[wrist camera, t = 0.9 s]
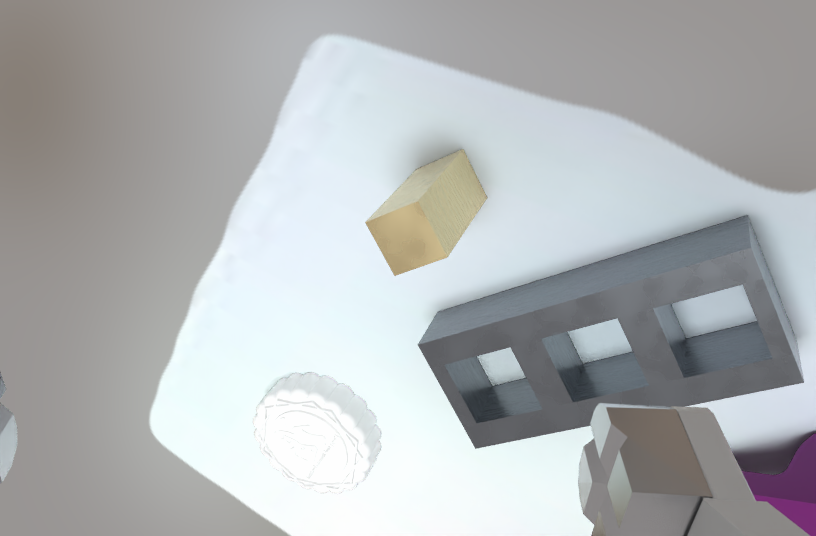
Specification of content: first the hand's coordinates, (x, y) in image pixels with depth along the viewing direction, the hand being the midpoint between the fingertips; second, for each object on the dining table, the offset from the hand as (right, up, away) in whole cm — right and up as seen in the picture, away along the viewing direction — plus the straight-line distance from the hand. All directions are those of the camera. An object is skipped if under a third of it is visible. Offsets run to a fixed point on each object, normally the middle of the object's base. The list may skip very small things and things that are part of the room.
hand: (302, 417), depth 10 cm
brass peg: (+5, +8, +45) cm, 46 cm away
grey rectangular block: (+16, -2, +46) cm, 49 cm away
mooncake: (-6, -13, +61) cm, 63 cm away
